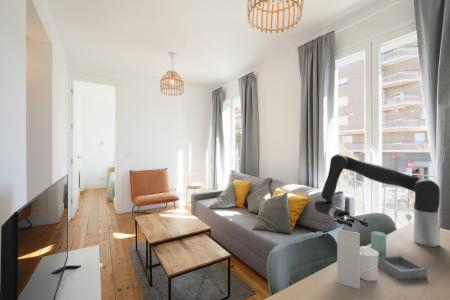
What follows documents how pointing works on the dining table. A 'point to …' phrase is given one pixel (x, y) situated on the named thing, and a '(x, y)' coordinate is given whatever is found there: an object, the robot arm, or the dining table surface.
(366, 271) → the white cup
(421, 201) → the robot arm
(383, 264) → the dish
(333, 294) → the dining table surface
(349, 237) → the milk carton
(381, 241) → the mint green cylinder
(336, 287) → the dining table surface
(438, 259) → the dining table surface
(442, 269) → the dining table surface
